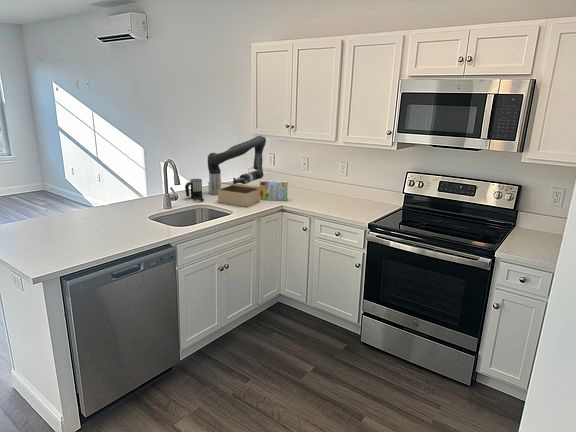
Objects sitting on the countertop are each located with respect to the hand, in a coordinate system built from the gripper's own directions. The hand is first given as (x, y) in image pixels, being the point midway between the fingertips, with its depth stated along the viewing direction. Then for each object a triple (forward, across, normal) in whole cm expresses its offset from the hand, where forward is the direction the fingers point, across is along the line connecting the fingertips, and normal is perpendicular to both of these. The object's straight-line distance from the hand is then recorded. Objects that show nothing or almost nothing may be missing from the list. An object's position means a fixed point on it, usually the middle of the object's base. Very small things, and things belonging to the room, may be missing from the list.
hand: (233, 182), depth 286 cm
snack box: (-27, +19, +17) cm, 37 cm away
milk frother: (+3, -32, +17) cm, 36 cm away
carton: (-7, 0, +16) cm, 18 cm away
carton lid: (-7, 0, +4) cm, 8 cm away
